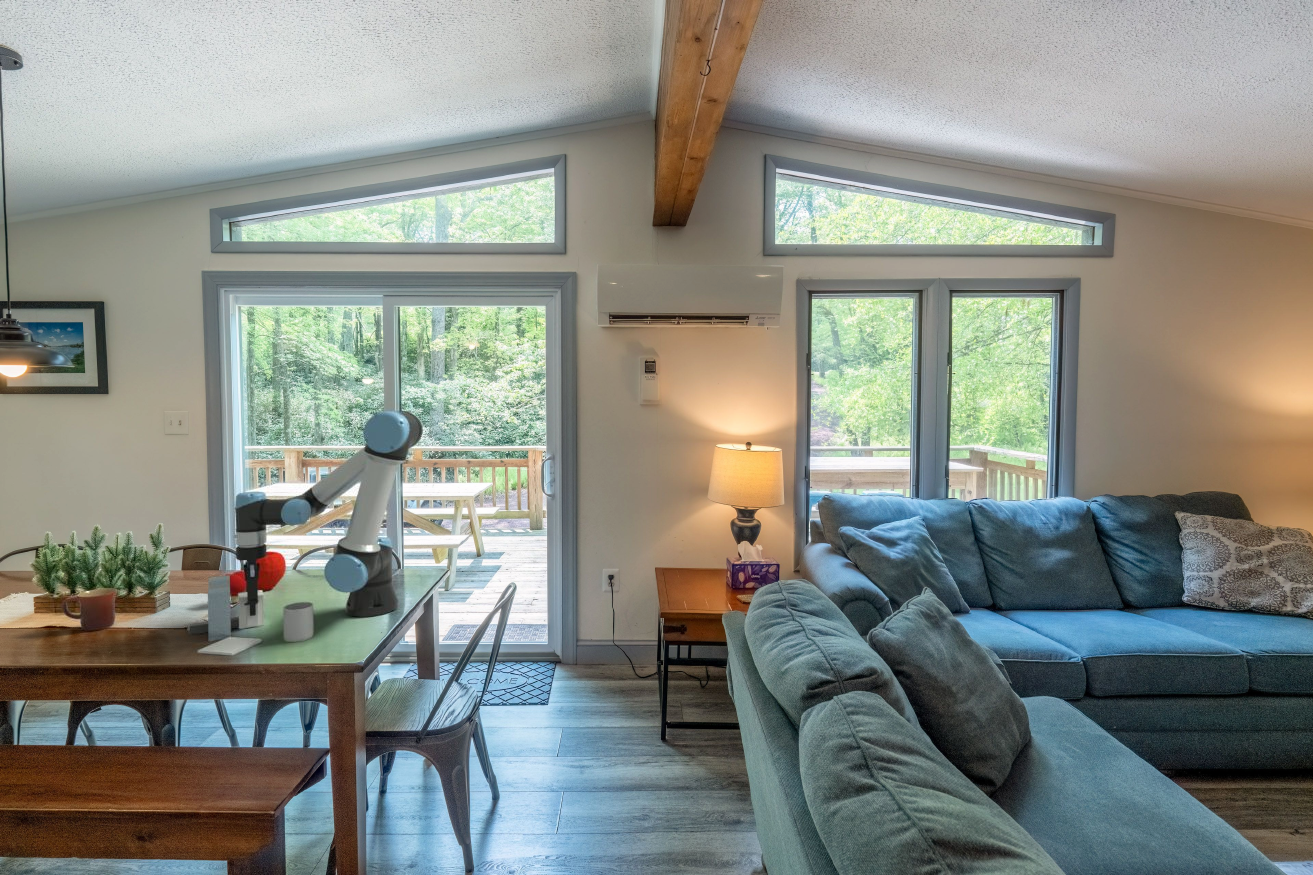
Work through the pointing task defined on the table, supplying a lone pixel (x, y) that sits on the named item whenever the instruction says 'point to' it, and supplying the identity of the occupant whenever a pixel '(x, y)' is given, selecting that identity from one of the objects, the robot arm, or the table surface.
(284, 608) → the cup
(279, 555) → the apple
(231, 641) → the pad
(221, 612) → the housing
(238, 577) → the light bulb
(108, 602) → the mug
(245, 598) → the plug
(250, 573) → the robot arm
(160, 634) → the table surface
